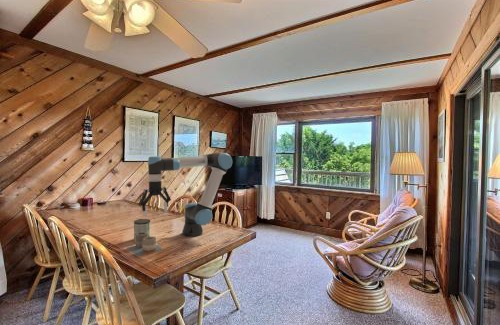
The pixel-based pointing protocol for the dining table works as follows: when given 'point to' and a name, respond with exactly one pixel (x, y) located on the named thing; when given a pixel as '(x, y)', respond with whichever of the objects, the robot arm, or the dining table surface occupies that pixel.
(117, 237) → the dining table surface
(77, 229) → the dining table surface
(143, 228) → the coffee can
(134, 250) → the pin board
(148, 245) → the cream sleeve
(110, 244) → the dining table surface
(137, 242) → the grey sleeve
